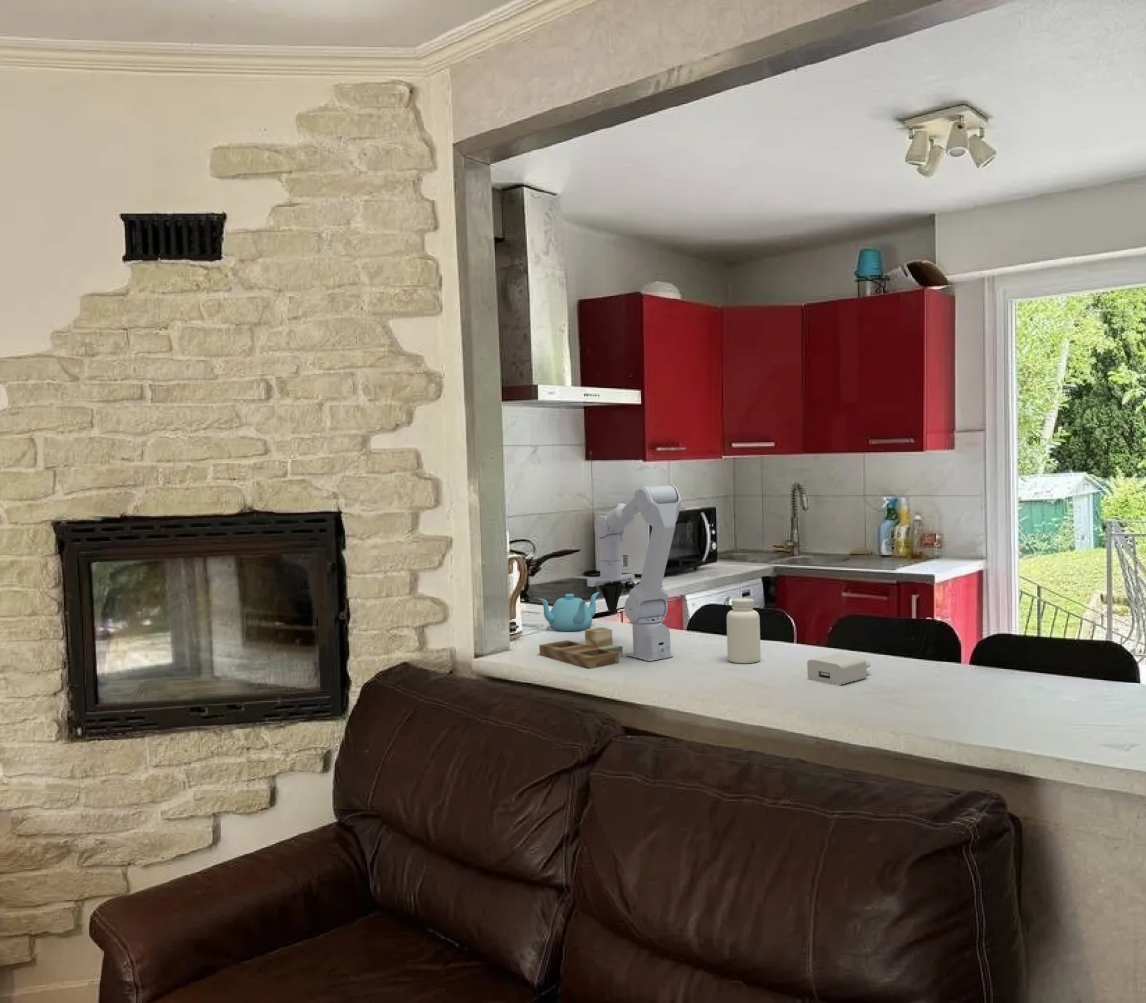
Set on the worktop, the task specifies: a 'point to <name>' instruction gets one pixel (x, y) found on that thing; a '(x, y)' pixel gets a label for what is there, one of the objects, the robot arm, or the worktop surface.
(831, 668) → the charger
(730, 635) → the pill bottle
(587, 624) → the teapot
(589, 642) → the birch block
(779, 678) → the worktop surface
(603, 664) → the tray
